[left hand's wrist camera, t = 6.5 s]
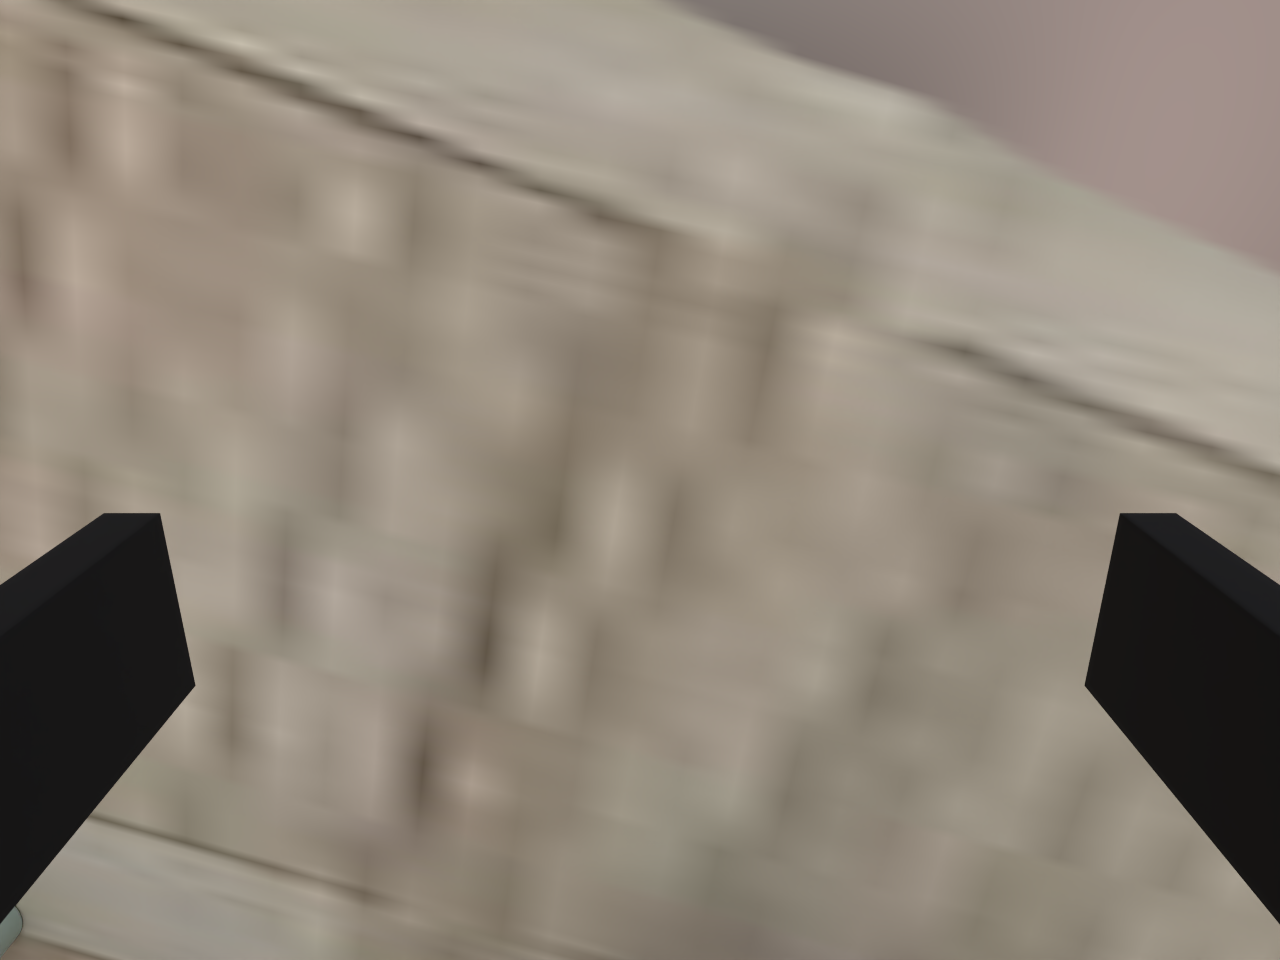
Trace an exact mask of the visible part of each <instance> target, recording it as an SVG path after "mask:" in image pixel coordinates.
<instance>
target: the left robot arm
mask: <svg viewBox="0 0 1280 960" xmlns="http://www.w3.org/2000/svg"><path fill="white" fill-rule="evenodd" d="M194 687H195V681H194V676H193V672H192V667H191V662H190V657H189V652H188V647H187V642H186V637H185V633H184V628H183V623H182V618H181V613H180V608H179V603H178V599H177V594H176V589H175V584H174V579H173V574H172V569H171V565H170V560H169V555H168V550H167V545H166V540H165V535H164V530H163V526H162V521H161V516H160V513H104V514H102V515H101V516H99V517H98V518H96V519H95V520H94V521H92V522H91V523H89V524H88V525H86V526H85V527H83V528H82V529H81V530H79V531H78V532H76V533H75V534H73V535H72V536H70V537H69V538H68V539H66V540H65V541H63V542H62V543H60V544H59V545H57V546H56V547H55V548H53V549H52V550H50V551H49V552H47V553H46V554H44V555H43V556H42V557H40V558H39V559H37V560H36V561H34V562H33V563H31V564H30V565H29V566H27V567H26V568H24V569H23V570H21V571H20V572H18V573H17V574H16V575H14V576H13V577H11V578H10V579H8V580H7V581H5V582H4V583H3V584H1V585H0V924H1V923H2V921H3V920H4V919H5V918H6V916H7V915H8V914H9V913H10V912H11V910H12V909H13V908H14V907H15V905H16V904H17V903H18V902H19V901H20V899H21V898H22V897H23V896H24V894H25V893H26V892H27V891H28V890H29V888H30V887H31V886H32V885H33V883H34V882H35V881H36V880H37V879H38V877H39V876H40V875H41V874H42V872H43V871H44V870H45V869H46V868H47V866H48V865H49V864H50V863H51V861H52V860H53V859H54V858H55V857H56V855H57V854H58V853H59V852H60V850H61V849H62V848H63V847H64V846H65V844H66V843H67V842H68V841H69V839H70V838H71V837H72V836H73V835H74V833H75V832H76V831H77V830H78V828H79V827H80V826H81V825H82V824H83V822H84V821H85V820H86V819H87V817H88V816H89V815H90V814H91V813H92V811H93V810H94V809H95V808H96V806H97V805H98V804H99V803H100V802H101V800H102V799H103V798H104V797H105V795H106V794H107V793H108V792H109V791H110V789H111V788H112V787H113V786H114V784H115V783H116V782H117V781H118V780H119V778H120V777H121V776H122V775H123V773H124V772H125V771H126V770H127V769H128V767H129V766H130V765H131V764H132V762H133V761H134V760H135V759H136V758H137V756H138V755H139V754H140V753H141V751H142V750H143V749H144V748H145V747H146V745H147V744H148V743H149V742H150V740H151V739H152V738H153V737H154V736H155V734H156V733H157V732H158V731H159V729H160V728H161V727H162V726H163V725H164V723H165V722H166V721H167V720H168V718H169V717H170V716H171V715H172V714H173V712H174V711H175V710H176V709H177V707H178V706H179V705H180V704H181V703H182V701H183V700H184V699H185V698H186V696H187V695H188V694H189V693H190V692H191V690H192V689H193V688H194ZM1085 687H1086V688H1087V689H1088V690H1089V692H1090V693H1091V694H1092V695H1093V696H1094V698H1095V699H1096V700H1097V701H1098V703H1099V704H1100V705H1101V706H1102V707H1103V709H1104V710H1105V711H1106V712H1107V714H1108V715H1109V716H1110V717H1111V718H1112V720H1113V721H1114V722H1115V723H1116V725H1117V726H1118V727H1119V728H1120V729H1121V731H1122V732H1123V733H1124V734H1125V736H1126V737H1127V738H1128V739H1129V740H1130V742H1131V743H1132V744H1133V745H1134V747H1135V748H1136V749H1137V750H1138V751H1139V753H1140V754H1141V755H1142V756H1143V758H1144V759H1145V760H1146V761H1147V762H1148V764H1149V765H1150V766H1151V767H1152V769H1153V770H1154V771H1155V772H1156V773H1157V775H1158V776H1159V777H1160V778H1161V780H1162V781H1163V782H1164V783H1165V784H1166V786H1167V787H1168V788H1169V789H1170V791H1171V792H1172V793H1173V794H1174V795H1175V797H1176V798H1177V799H1178V800H1179V802H1180V803H1181V804H1182V805H1183V806H1184V808H1185V809H1186V810H1187V811H1188V813H1189V814H1190V815H1191V816H1192V817H1193V819H1194V820H1195V821H1196V822H1197V824H1198V825H1199V826H1200V827H1201V828H1202V830H1203V831H1204V832H1205V833H1206V835H1207V836H1208V837H1209V838H1210V839H1211V841H1212V842H1213V843H1214V844H1215V846H1216V847H1217V848H1218V849H1219V850H1220V852H1221V853H1222V854H1223V855H1224V857H1225V858H1226V859H1227V860H1228V861H1229V863H1230V864H1231V865H1232V866H1233V868H1234V869H1235V870H1236V871H1237V872H1238V874H1239V875H1240V876H1241V877H1242V879H1243V880H1244V881H1245V882H1246V883H1247V885H1248V886H1249V887H1250V888H1251V890H1252V891H1253V892H1254V893H1255V894H1256V896H1257V897H1258V898H1259V899H1260V901H1261V902H1262V903H1263V904H1264V905H1265V907H1266V908H1267V909H1268V910H1269V912H1270V913H1271V914H1272V915H1273V916H1274V918H1275V919H1276V920H1277V921H1278V923H1279V924H1280V585H1279V584H1277V583H1276V582H1275V581H1273V580H1272V579H1270V578H1269V577H1267V576H1266V575H1264V574H1263V573H1262V572H1260V571H1259V570H1257V569H1256V568H1254V567H1253V566H1251V565H1250V564H1249V563H1247V562H1246V561H1244V560H1243V559H1241V558H1240V557H1238V556H1237V555H1236V554H1234V553H1233V552H1231V551H1230V550H1228V549H1227V548H1225V547H1224V546H1223V545H1221V544H1220V543H1218V542H1217V541H1215V540H1214V539H1212V538H1211V537H1210V536H1208V535H1207V534H1205V533H1204V532H1202V531H1201V530H1199V529H1198V528H1197V527H1195V526H1194V525H1192V524H1191V523H1189V522H1188V521H1186V520H1185V519H1184V518H1182V517H1181V516H1179V515H1178V514H1176V513H1120V516H1119V521H1118V526H1117V530H1116V535H1115V540H1114V545H1113V550H1112V555H1111V560H1110V565H1109V569H1108V574H1107V579H1106V584H1105V589H1104V594H1103V599H1102V603H1101V608H1100V613H1099V618H1098V623H1097V628H1096V633H1095V637H1094V642H1093V647H1092V652H1091V657H1090V662H1089V667H1088V672H1087V676H1086V681H1085Z"/></svg>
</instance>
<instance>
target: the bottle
mask: <svg viewBox="0 0 1280 960" xmlns="http://www.w3.org/2000/svg"><path fill="white" fill-rule="evenodd" d="M21 929H22V918H21V915H20V913H19V911H18V909H17V908H16V907H14V908H13V909H12V910H11V912H10V913H9V914H8V915H7V916H6V918H5V919H4V920H3V921H2V923H1V924H0V958H1V957H2V955H3V954H4V953H5V952H6V950H7V949H8V948H9V946H10V945H11V944H12V943H13V941H14V940H15V939H16V938H17V936H18V935H19V934H20V932H21Z"/></svg>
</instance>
